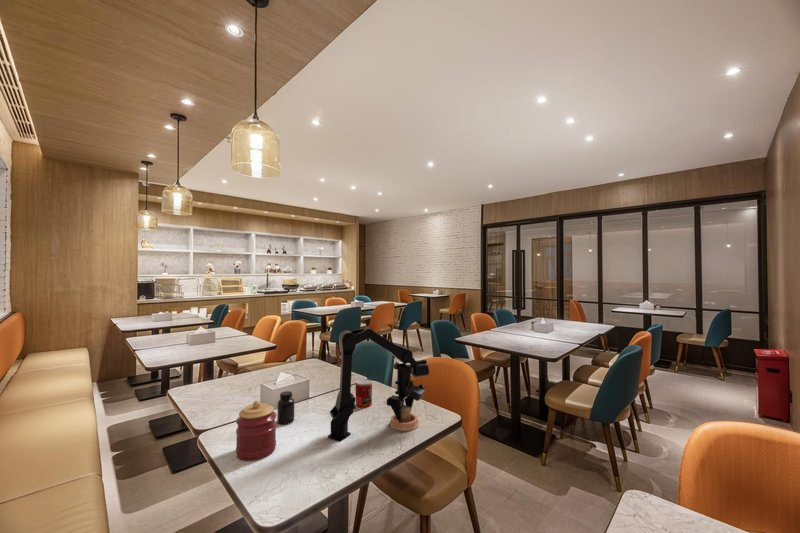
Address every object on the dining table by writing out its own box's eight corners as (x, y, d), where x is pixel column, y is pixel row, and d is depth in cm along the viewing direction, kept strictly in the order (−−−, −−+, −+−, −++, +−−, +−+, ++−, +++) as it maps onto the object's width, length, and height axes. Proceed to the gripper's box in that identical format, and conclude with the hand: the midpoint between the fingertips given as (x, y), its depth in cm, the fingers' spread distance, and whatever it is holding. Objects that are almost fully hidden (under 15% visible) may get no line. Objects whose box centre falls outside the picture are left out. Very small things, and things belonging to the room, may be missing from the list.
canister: (264, 439, 126) (264, 391, 127) (283, 450, 118) (283, 399, 119) (228, 453, 116) (229, 401, 117) (246, 466, 108) (247, 411, 109)
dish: (410, 433, 130) (410, 426, 130) (384, 426, 136) (384, 420, 136) (423, 421, 140) (423, 415, 141) (398, 416, 146) (398, 410, 146)
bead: (406, 426, 135) (406, 410, 135) (396, 423, 137) (395, 408, 137) (412, 421, 139) (412, 406, 139) (402, 418, 142) (401, 404, 142)
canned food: (364, 409, 154) (364, 385, 154) (352, 405, 159) (352, 381, 159) (375, 404, 160) (375, 381, 160) (363, 400, 165) (363, 378, 165)
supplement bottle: (273, 423, 140) (273, 394, 140) (286, 417, 146) (286, 389, 146) (285, 426, 137) (285, 396, 137) (297, 420, 143) (298, 391, 143)
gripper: (410, 388, 127) (411, 430, 126) (431, 375, 143) (431, 412, 142) (385, 383, 132) (385, 423, 132) (408, 371, 148) (408, 407, 148)
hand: (404, 416), depth 138 cm, fingers open, 8 cm apart
